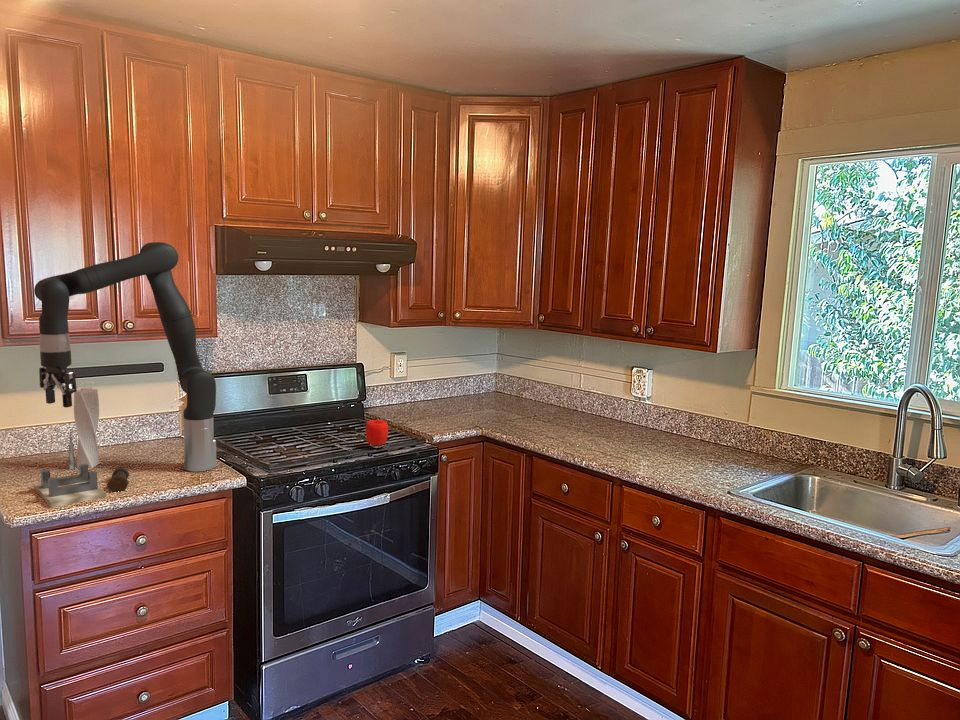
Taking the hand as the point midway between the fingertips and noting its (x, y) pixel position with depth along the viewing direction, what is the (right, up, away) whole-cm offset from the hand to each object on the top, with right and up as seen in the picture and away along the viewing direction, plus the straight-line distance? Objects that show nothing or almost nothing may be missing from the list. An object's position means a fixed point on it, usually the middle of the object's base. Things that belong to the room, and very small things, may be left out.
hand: (59, 405), depth 202 cm
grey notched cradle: (+1, -24, +3) cm, 25 cm away
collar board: (+1, -26, +3) cm, 26 cm away
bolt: (+11, -26, +13) cm, 31 cm away
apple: (+82, -21, +66) cm, 107 cm away
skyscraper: (-8, -22, +29) cm, 37 cm away
